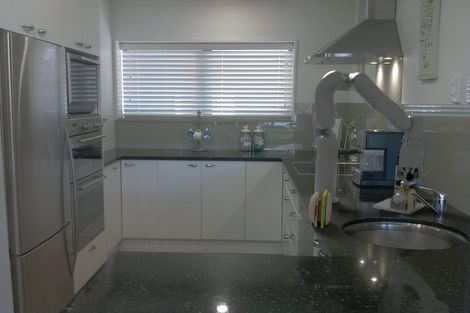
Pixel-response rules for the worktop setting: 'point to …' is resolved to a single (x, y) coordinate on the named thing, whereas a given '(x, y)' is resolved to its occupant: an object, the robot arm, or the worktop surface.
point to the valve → (400, 202)
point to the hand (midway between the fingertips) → (409, 181)
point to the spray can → (399, 175)
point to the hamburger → (320, 208)
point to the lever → (411, 182)
